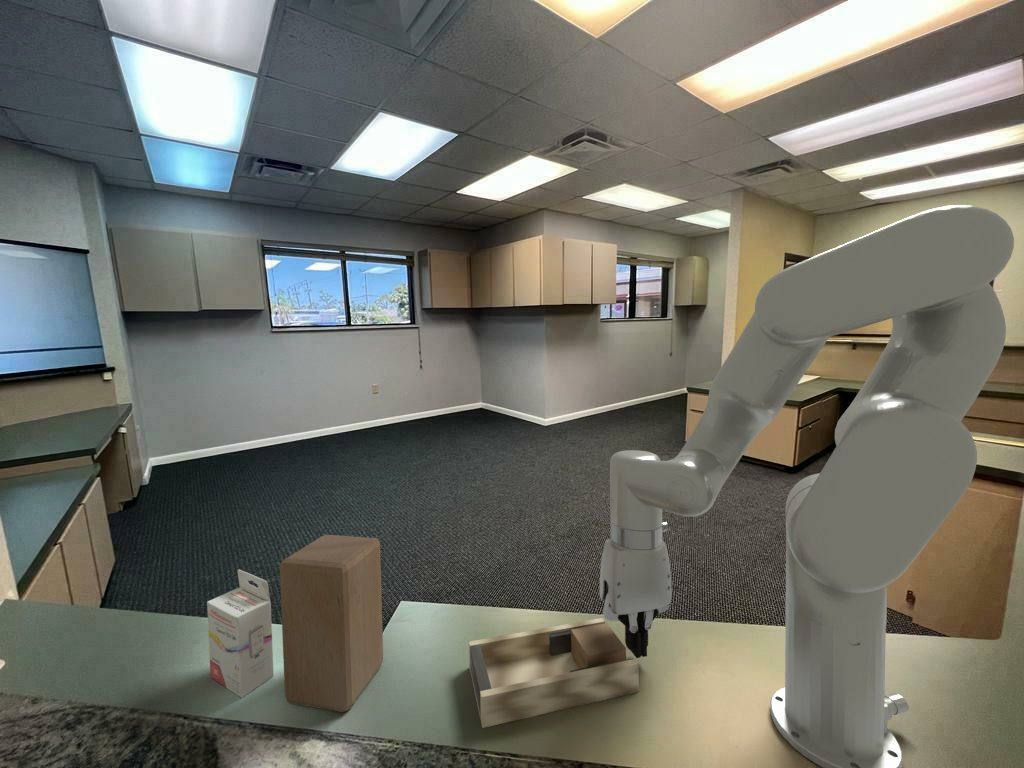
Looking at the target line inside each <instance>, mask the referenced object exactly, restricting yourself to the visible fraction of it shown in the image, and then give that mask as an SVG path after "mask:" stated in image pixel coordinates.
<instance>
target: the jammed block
mask: <svg viewBox="0 0 1024 768" xmlns="http://www.w3.org/2000/svg"><path fill="white" fill-rule="evenodd" d="M571 655H572V657H573V659H574V660H575V662H576V664H577V666H578V667H579V669H581V668H586V667H590V666H595V665H600V664H605V663H610V664H613V663H618V662H622V661H627V646H626V645H624V643H623V642H622V641H621V639H620V638H619V637H618V636H617V634H616V633H615V632H614V631H613V630H612V628H611V627H610V626H609V624H608V623H606V622H605V624H599V625H594V626H588V627H583V628H577V629H572V630H571Z"/></svg>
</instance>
